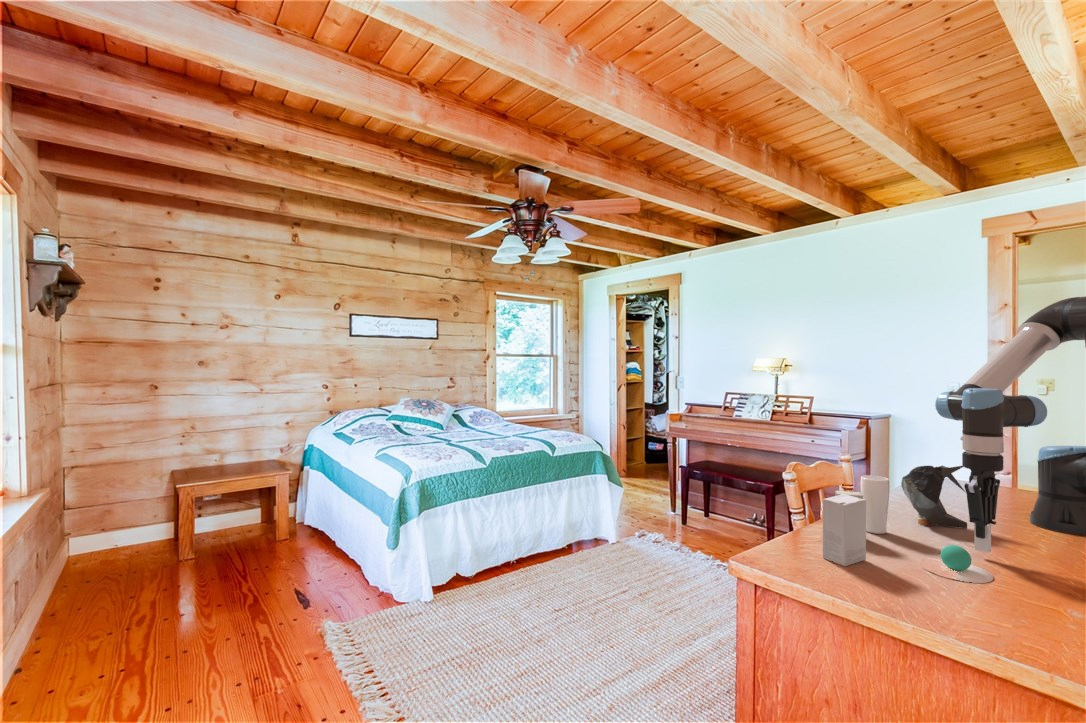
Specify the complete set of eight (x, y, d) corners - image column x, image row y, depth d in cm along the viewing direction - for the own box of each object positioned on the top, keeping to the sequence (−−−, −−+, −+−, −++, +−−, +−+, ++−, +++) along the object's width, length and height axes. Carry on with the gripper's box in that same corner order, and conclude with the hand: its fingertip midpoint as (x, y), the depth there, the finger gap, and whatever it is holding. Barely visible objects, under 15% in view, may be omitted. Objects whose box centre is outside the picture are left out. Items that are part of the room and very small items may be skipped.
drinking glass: (894, 536, 139) (894, 481, 139) (866, 534, 140) (866, 480, 140) (883, 528, 145) (882, 475, 145) (856, 526, 147) (856, 474, 147)
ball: (955, 572, 119) (959, 549, 120) (975, 576, 113) (980, 552, 114) (932, 562, 119) (937, 539, 120) (951, 567, 114) (956, 542, 115)
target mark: (961, 559, 123) (961, 558, 123) (1010, 583, 110) (1010, 582, 110) (906, 559, 123) (906, 558, 123) (948, 583, 110) (948, 582, 110)
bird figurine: (896, 514, 159) (895, 456, 158) (957, 520, 152) (957, 459, 152) (907, 528, 146) (906, 464, 145) (974, 535, 139) (974, 469, 139)
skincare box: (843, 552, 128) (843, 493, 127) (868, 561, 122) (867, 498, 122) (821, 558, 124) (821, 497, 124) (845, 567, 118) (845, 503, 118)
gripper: (975, 447, 130) (975, 541, 130) (950, 452, 123) (951, 550, 123) (1013, 452, 123) (1014, 550, 123) (990, 457, 117) (990, 561, 117)
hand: (982, 550), depth 123 cm, fingers closed
